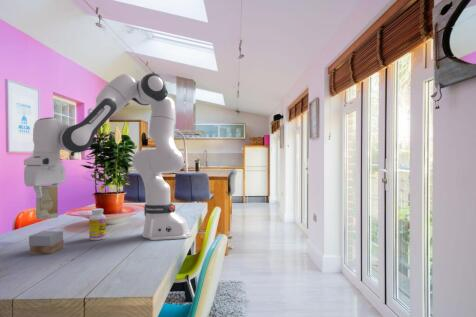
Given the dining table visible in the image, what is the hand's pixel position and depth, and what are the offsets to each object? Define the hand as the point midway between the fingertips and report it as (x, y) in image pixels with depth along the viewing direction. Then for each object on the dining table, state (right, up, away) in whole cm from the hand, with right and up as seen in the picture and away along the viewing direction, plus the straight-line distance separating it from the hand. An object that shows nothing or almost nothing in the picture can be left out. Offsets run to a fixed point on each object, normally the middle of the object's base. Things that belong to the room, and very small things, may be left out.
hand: (47, 196), depth 122 cm
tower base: (0, -21, 0) cm, 21 cm away
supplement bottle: (+11, -21, +18) cm, 30 cm away
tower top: (0, -18, 0) cm, 18 cm away
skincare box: (0, -8, 0) cm, 8 cm away
